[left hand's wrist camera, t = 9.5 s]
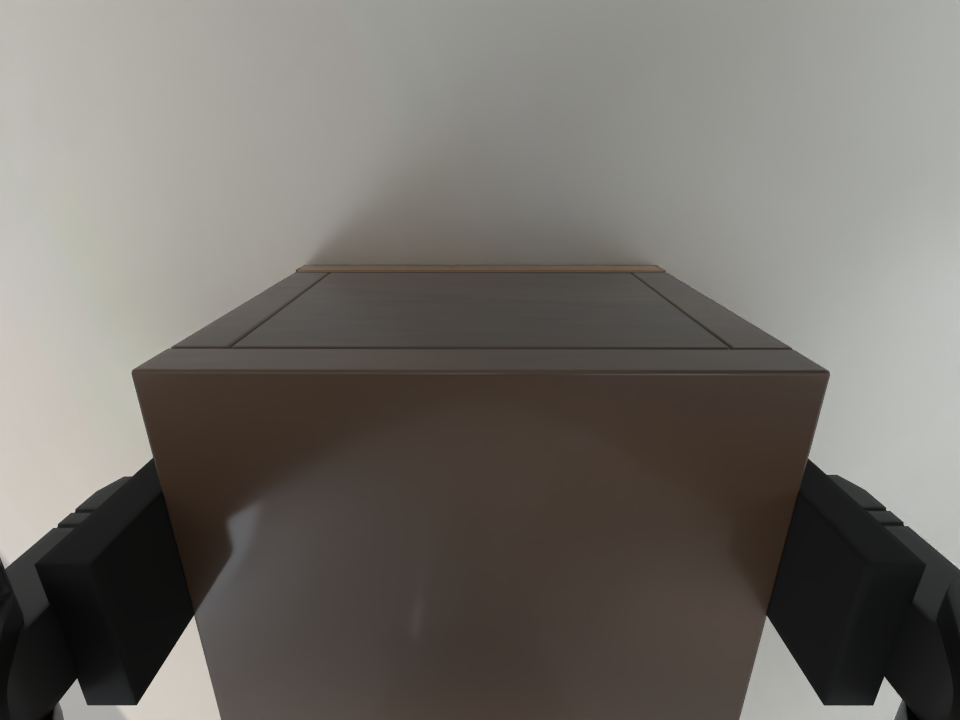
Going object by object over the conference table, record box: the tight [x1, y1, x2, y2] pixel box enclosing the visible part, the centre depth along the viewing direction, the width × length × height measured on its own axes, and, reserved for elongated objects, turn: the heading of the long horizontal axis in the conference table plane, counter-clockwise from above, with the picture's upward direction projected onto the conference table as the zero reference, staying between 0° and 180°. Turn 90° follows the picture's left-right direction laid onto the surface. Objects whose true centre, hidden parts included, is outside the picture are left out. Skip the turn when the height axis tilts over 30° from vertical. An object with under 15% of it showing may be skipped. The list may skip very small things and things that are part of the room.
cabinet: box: [132, 265, 830, 720], centre depth 14 cm, size 13×11×8 cm
